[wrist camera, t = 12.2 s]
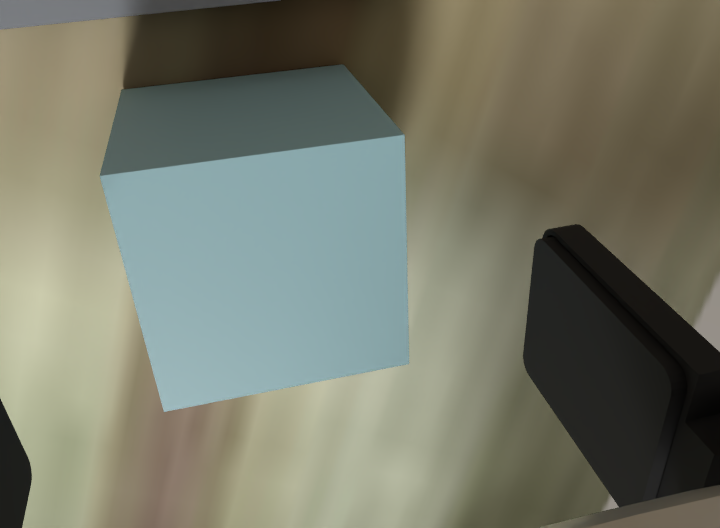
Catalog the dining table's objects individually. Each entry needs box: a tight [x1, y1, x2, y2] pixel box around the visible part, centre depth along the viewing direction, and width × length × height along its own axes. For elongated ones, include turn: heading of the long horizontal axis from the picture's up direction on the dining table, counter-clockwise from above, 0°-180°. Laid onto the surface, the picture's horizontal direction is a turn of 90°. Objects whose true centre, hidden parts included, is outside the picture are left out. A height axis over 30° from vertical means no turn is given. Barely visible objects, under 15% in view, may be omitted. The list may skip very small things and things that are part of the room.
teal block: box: [100, 64, 409, 412], centre depth 17 cm, size 6×6×6 cm
